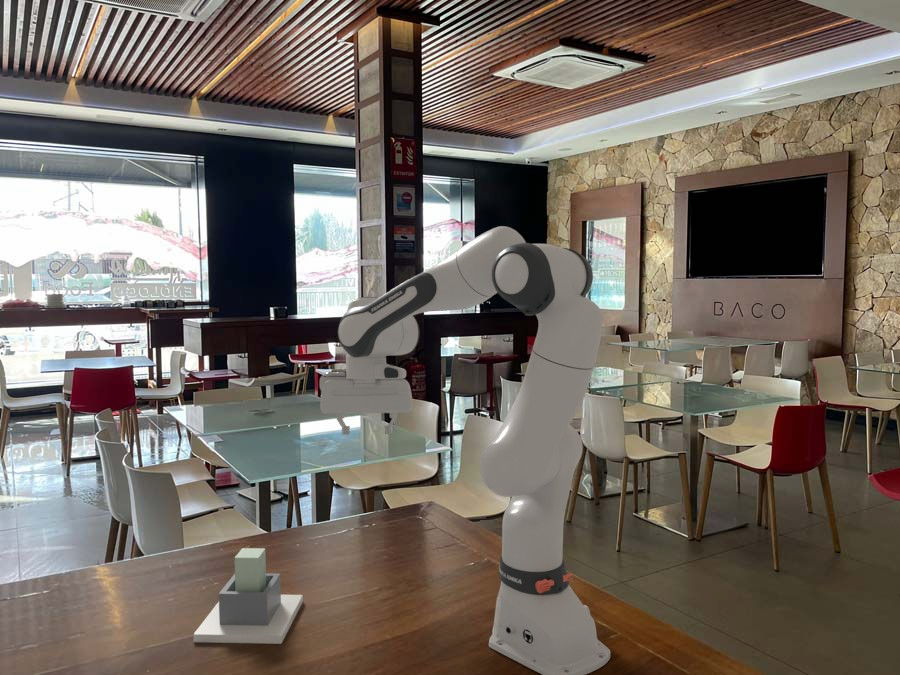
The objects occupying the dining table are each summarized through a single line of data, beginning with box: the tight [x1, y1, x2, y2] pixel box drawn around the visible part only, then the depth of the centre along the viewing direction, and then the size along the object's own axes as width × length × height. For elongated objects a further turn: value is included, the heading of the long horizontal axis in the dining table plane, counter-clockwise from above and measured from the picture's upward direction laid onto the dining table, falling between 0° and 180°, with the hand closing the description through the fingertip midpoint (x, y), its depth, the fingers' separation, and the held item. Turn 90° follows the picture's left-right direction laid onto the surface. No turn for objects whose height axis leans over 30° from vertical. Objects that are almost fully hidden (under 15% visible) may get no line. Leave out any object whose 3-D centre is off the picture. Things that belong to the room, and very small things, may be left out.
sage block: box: [234, 547, 267, 592], centre depth 132 cm, size 4×4×12 cm
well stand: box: [192, 572, 304, 645], centre depth 132 cm, size 16×16×8 cm
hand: (367, 434), depth 152 cm, fingers open, 8 cm apart
